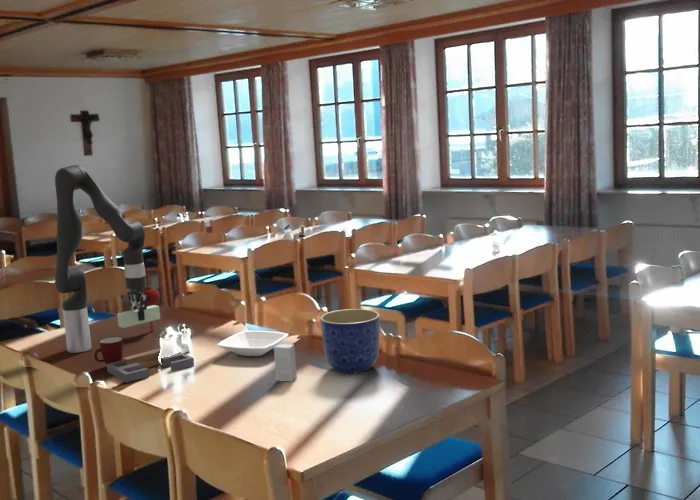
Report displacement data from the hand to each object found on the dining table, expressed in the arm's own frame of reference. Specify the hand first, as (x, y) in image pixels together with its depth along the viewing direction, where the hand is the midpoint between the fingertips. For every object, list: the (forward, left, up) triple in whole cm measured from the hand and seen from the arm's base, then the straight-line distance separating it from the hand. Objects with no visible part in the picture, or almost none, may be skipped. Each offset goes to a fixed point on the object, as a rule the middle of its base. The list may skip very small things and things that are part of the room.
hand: (139, 319), depth 312 cm
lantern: (-34, +19, -15) cm, 42 cm away
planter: (+71, +47, -15) cm, 86 cm away
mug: (+2, -14, -15) cm, 21 cm away
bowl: (+28, +33, -15) cm, 46 cm away
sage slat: (0, 0, -1) cm, 1 cm away
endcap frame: (+16, -4, -15) cm, 22 cm away
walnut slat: (+12, -4, -15) cm, 20 cm away
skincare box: (+64, +24, -15) cm, 70 cm away
